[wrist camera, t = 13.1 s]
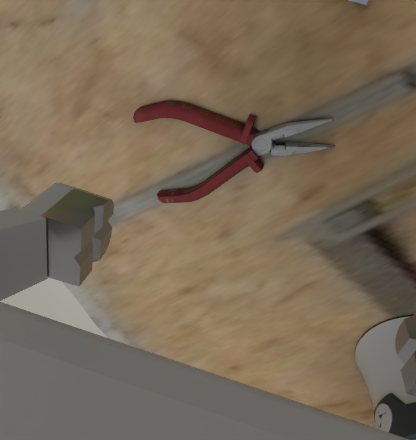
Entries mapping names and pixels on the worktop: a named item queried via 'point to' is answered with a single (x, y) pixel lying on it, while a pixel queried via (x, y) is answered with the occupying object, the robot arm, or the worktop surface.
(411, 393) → the robot arm
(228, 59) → the worktop surface
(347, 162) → the worktop surface
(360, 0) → the shaft block
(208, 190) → the pliers
